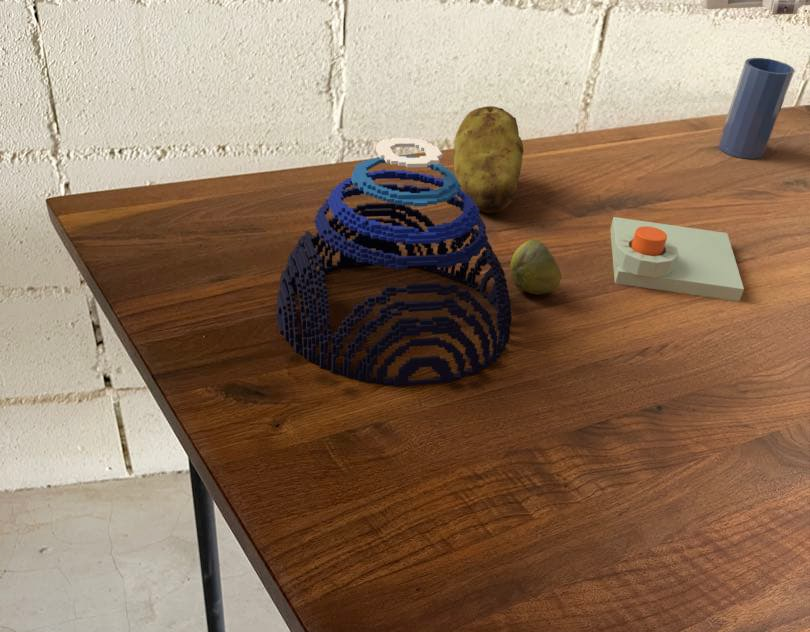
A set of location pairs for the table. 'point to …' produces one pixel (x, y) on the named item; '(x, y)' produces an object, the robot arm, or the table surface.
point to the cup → (755, 107)
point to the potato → (488, 158)
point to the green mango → (535, 268)
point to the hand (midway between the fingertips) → (785, 7)
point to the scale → (677, 261)
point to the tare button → (649, 241)
